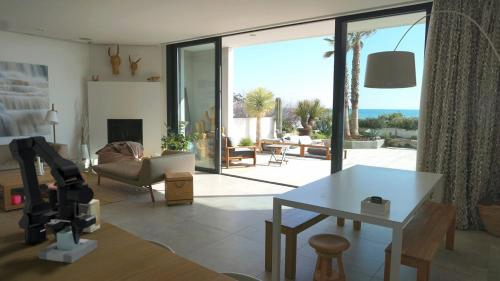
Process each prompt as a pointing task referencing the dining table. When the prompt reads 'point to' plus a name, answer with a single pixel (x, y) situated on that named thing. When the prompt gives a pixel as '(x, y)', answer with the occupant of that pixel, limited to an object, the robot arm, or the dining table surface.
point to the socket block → (67, 256)
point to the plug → (66, 240)
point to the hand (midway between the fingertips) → (68, 243)
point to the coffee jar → (54, 200)
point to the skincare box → (95, 211)
